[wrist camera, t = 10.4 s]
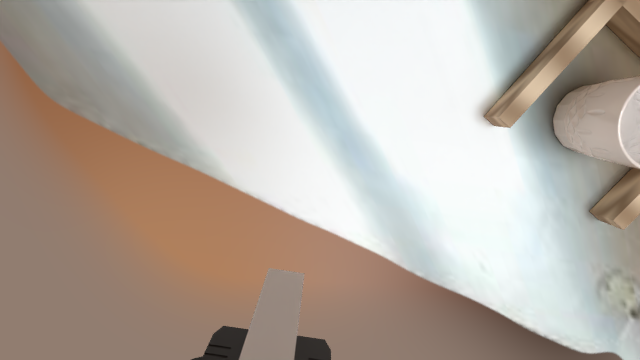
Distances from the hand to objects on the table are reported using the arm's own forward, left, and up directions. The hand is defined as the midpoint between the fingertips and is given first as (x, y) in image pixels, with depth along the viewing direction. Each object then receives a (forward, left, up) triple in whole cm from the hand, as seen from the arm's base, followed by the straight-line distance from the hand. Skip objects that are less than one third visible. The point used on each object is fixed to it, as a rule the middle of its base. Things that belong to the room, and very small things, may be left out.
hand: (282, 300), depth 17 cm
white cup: (-11, +27, -26) cm, 39 cm away
